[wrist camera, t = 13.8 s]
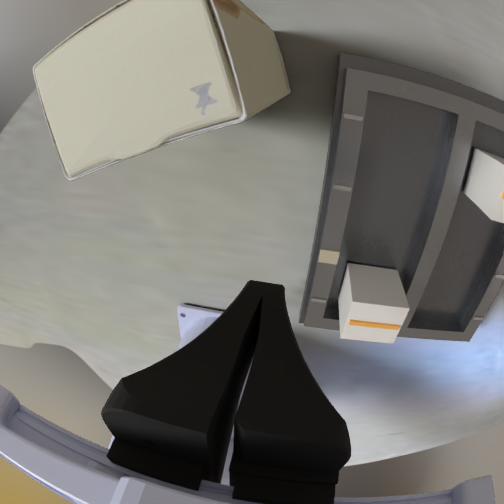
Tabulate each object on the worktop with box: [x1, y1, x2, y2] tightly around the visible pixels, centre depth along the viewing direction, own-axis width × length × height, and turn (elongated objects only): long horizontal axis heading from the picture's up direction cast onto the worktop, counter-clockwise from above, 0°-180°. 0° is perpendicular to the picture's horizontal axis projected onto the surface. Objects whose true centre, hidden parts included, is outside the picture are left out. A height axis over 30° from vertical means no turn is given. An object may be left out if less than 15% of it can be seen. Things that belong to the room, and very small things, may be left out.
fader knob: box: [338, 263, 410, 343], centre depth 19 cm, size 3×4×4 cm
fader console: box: [299, 53, 504, 341], centre depth 18 cm, size 19×15×2 cm
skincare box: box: [33, 0, 291, 181], centre depth 12 cm, size 6×4×12 cm
